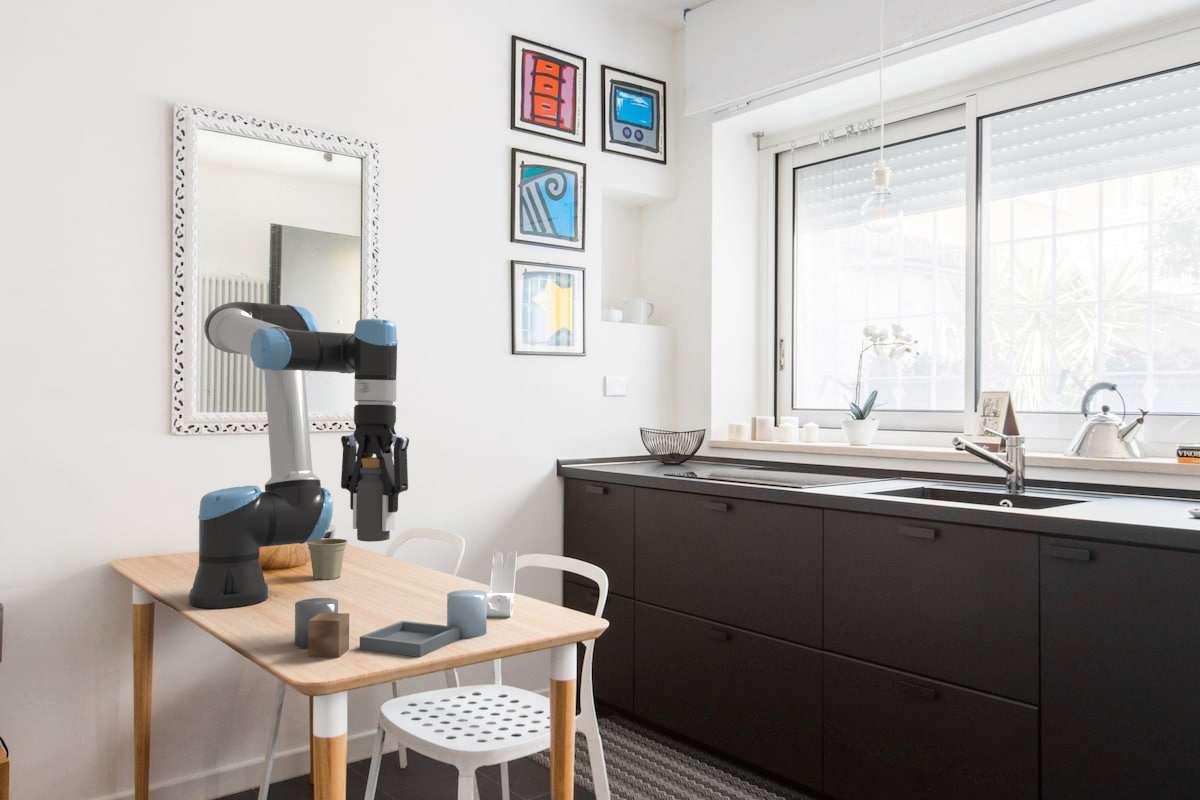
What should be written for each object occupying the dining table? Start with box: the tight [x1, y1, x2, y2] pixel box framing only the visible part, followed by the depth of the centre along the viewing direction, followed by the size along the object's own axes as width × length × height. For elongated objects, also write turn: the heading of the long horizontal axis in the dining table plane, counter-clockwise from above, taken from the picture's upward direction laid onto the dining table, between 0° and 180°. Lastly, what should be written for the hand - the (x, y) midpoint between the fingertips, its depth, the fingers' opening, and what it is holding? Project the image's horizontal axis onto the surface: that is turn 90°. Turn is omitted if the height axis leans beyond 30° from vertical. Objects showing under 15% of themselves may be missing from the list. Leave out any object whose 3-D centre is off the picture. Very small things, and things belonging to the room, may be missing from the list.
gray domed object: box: [294, 597, 339, 650], centre depth 147 cm, size 7×7×7 cm
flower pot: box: [306, 538, 349, 581], centre depth 204 cm, size 9×9×9 cm
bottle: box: [356, 456, 391, 543], centre depth 158 cm, size 6×6×15 cm
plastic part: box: [486, 550, 518, 618], centre depth 170 cm, size 8×10×12 cm
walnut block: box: [307, 612, 350, 659], centre depth 141 cm, size 5×5×6 cm
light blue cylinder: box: [446, 589, 488, 639], centre depth 154 cm, size 7×7×7 cm
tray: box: [359, 620, 461, 658], centre depth 147 cm, size 12×12×2 cm
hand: (373, 528), depth 158 cm, fingers closed on bottle, 6 cm apart
